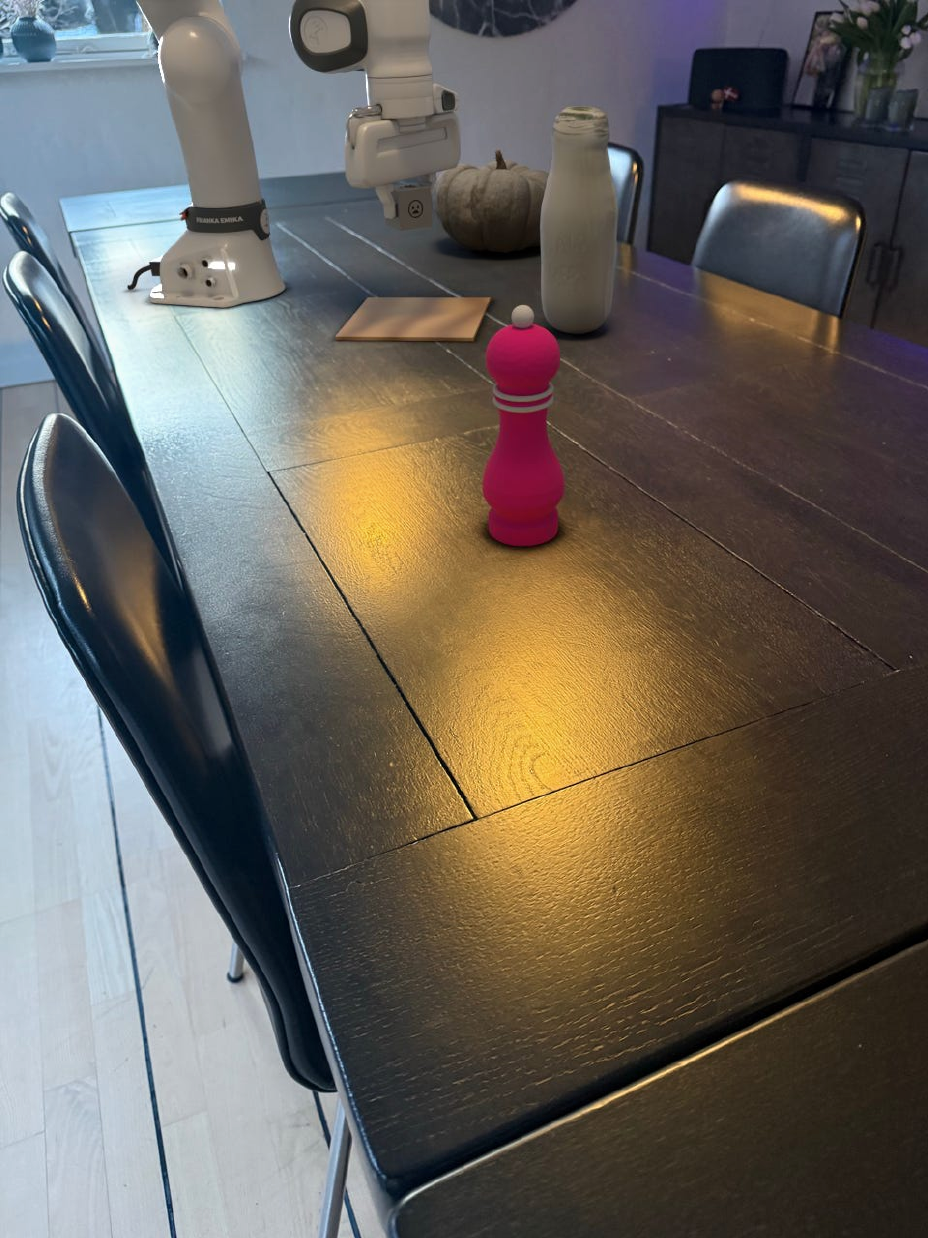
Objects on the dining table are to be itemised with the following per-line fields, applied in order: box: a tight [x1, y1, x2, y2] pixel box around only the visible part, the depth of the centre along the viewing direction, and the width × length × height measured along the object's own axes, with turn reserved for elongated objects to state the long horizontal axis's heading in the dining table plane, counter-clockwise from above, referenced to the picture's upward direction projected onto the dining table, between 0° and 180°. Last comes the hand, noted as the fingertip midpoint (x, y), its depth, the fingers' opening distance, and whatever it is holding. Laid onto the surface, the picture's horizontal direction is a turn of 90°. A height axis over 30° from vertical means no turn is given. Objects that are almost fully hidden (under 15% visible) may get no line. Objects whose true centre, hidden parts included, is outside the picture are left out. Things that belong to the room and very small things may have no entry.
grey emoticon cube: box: [385, 181, 434, 232], centre depth 126 cm, size 5×5×5 cm
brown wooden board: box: [335, 296, 492, 342], centre depth 135 cm, size 20×20×1 cm
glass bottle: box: [540, 105, 619, 335], centre depth 120 cm, size 10×10×28 cm
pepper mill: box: [481, 304, 565, 547], centre depth 76 cm, size 7×7×20 cm
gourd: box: [431, 149, 550, 254], centre depth 168 cm, size 25×25×17 cm
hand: (408, 213), depth 127 cm, fingers closed on grey emoticon cube, 5 cm apart
